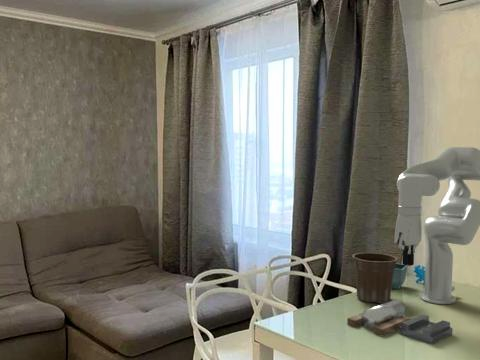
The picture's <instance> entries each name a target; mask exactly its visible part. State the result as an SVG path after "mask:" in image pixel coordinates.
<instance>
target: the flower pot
mask: <svg viewBox="0 0 480 360" xmlns="http://www.w3.org/2000/svg"><path fill="white" fill-rule="evenodd" d="M407 272H408V265H403V264H401V263H396V264H395V270H394V272H393V280H392V287H391V289H397V290H398V289H400V288H401V287H402V286H403V285H404V282H405V280H406V278H407Z"/></svg>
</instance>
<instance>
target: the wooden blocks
mask: <svg viewBox="0 0 480 360" xmlns="http://www.w3.org/2000/svg"><path fill="white" fill-rule="evenodd" d="M362 313H363V312H361V313H358V314H355V315H352V316H350V317H347V320H346V321H347V322H346V323H347V325H348V326H351V327H354V328H355V327H359V326H361V325H364V324H363V323H362V320H361V315H362ZM409 319H412V318H411V317H408V316H405V315H404V316H400V317H398V318H395V319H392V320H390V321H387V322H385V323H382V324H380V325H377V326H375V327H374V329H373V334H375V335H378V336H382V337H383V336H385V335H388V334H390V333H393V332H396V331H397V330H398V331H399V327H400V326H401V323H402V322H405V321H407V320H409Z"/></svg>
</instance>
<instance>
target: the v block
mask: <svg viewBox="0 0 480 360" xmlns="http://www.w3.org/2000/svg"><path fill="white" fill-rule="evenodd" d="M398 334H401V335H403V336H406V337H409V338H411V339H412V338H413V339H416V340H419V341H422V342H425V343H428V344H430V345H434V344H436V343H438V342H439V341H441V340H444V339H446V338H447V337H450V336H452V335H453V327H451V322H450V321H447V320H443V319H442V320H441V321H438V322H433V321H430V315H424V314H419V315H417V316H414V317H412V318H411V319H409V320H407V321H405V322H402V323H401V326H400V327H399V329H398Z"/></svg>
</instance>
